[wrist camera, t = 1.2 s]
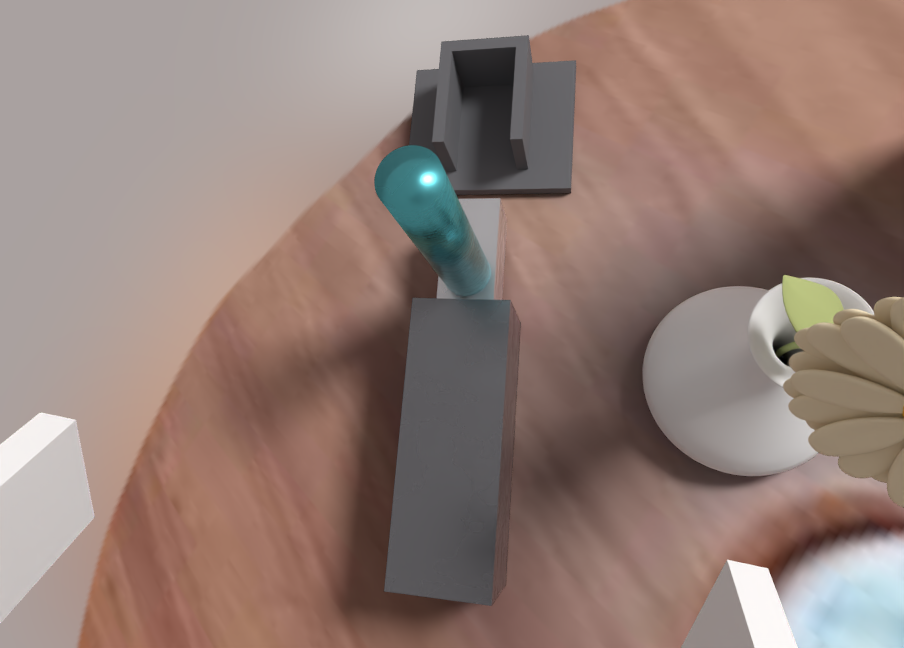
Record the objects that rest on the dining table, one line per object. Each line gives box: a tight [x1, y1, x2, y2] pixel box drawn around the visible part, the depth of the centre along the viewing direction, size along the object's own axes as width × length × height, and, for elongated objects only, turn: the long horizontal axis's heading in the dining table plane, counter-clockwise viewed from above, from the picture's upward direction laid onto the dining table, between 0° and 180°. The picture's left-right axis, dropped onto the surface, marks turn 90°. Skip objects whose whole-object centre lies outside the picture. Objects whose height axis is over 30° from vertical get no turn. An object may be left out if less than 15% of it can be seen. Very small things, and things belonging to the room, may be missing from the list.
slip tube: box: [374, 145, 507, 300], centre depth 33 cm, size 4×20×17 cm, turn 176°
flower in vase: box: [642, 275, 904, 508], centre depth 26 cm, size 13×11×25 cm
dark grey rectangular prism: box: [384, 298, 521, 606], centre depth 38 cm, size 6×17×6 cm, turn 176°
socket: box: [409, 35, 576, 195], centre depth 43 cm, size 12×10×5 cm
